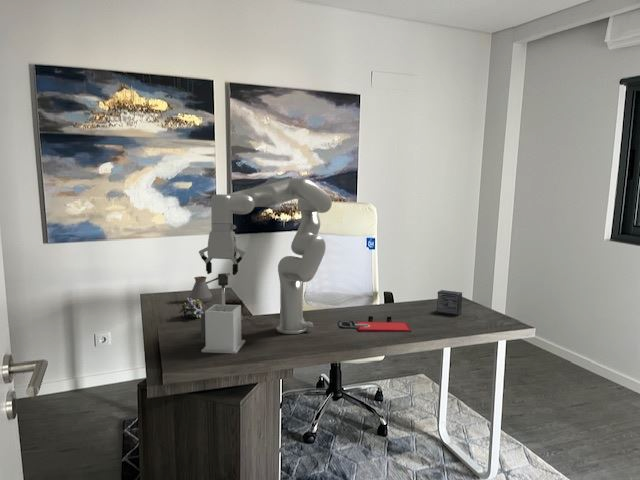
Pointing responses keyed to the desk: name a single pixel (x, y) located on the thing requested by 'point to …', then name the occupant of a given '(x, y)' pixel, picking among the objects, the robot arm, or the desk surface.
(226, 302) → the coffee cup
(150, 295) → the desk surface
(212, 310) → the press housing
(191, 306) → the passion flower
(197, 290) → the coffee pot
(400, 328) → the red board with handle
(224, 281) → the plunger
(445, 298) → the small box
